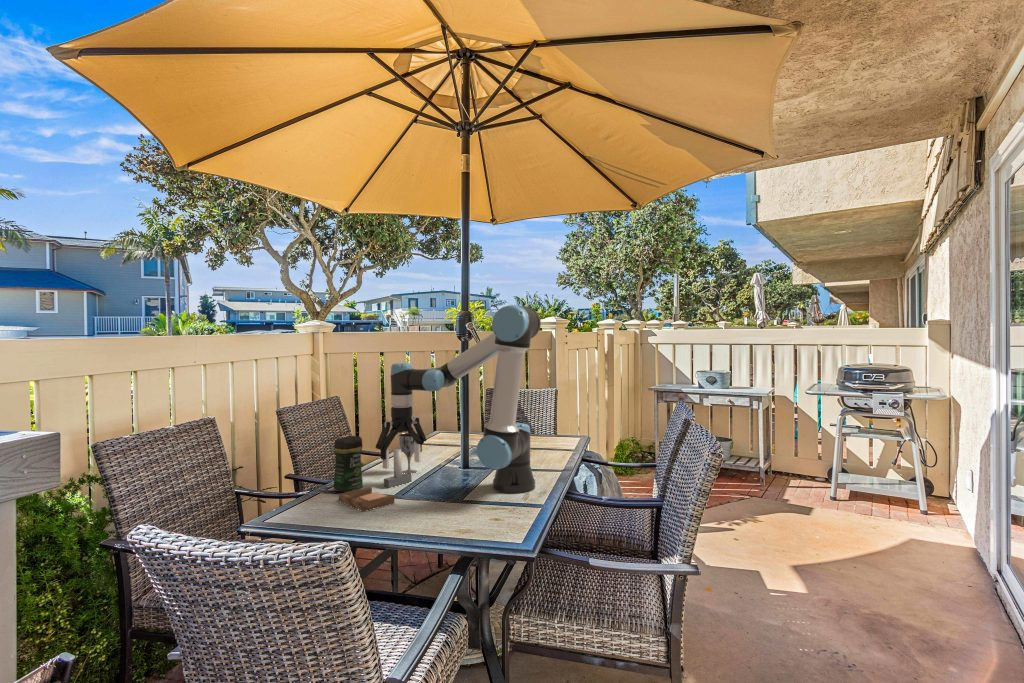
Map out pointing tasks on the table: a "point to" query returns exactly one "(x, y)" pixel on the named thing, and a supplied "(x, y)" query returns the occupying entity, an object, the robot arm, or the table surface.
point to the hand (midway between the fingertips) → (402, 465)
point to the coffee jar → (348, 464)
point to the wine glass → (407, 449)
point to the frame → (352, 500)
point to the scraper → (397, 472)
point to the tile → (371, 496)
